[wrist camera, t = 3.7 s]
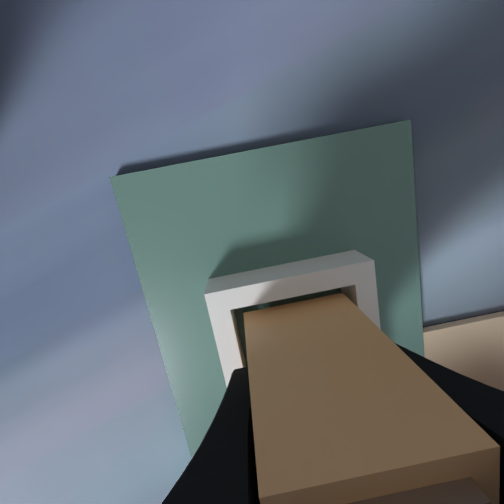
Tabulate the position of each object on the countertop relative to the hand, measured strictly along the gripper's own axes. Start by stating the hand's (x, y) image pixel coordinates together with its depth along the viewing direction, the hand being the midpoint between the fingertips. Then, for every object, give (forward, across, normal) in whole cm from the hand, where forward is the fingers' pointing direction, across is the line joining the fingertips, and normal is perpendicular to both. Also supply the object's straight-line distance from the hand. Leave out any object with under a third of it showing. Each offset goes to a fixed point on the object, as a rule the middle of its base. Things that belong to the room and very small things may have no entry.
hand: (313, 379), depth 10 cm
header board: (+4, 0, 0) cm, 4 cm away
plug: (+2, 0, 0) cm, 2 cm away
